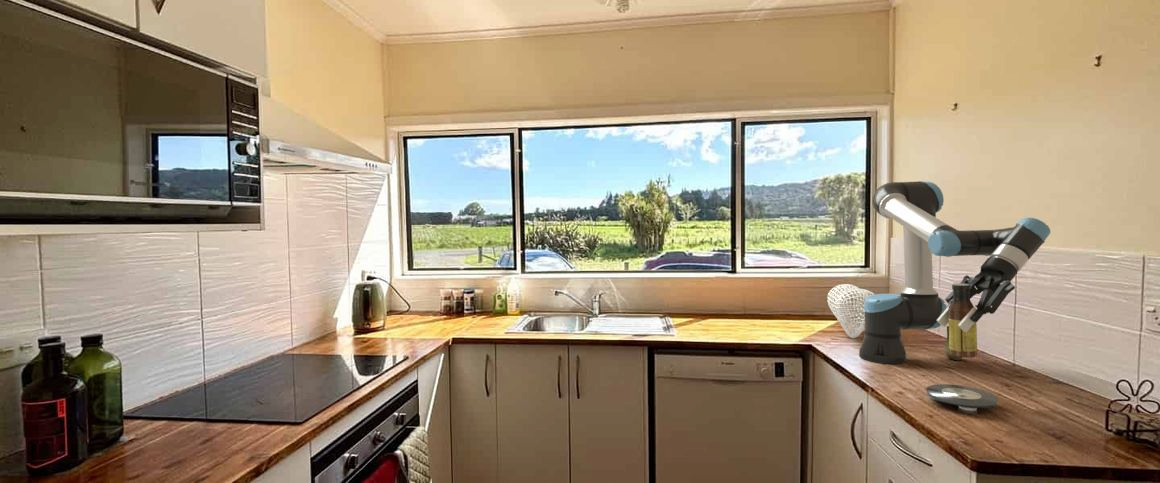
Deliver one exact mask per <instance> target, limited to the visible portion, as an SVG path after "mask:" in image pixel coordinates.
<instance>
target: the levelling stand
mask: <svg viewBox="0 0 1160 483" xmlns="http://www.w3.org/2000/svg"><path fill="white" fill-rule="evenodd" d="M926 394H927V395H928V397H929V399H930V400H932V401H936V402H942V403H944V404H949V405H953V406H957V408H958V411H959V412H961V413H963V414H966V415H977V414H978V409H986V408H987V409H988V408H993V407H996V406H998V404H999V399H998V397H997V396H996V395H994V394H992V393H990V392H989V391H985V390H982V389H978V388H976V387H971V386H965V385H958V384H947V383H946V384H943V383H942V384H933V385H928V386H927V387H926Z"/></svg>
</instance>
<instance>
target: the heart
mask: <svg viewBox="0 0 1160 483" xmlns="http://www.w3.org/2000/svg"><path fill="white" fill-rule="evenodd" d="M872 295H876V294H875V293H874V292H872V291H871V290H868V289H863V288H860V287H858V286H857V285H854V284H850V283H841V284H837V285H835V286H834V287H832V288H831V289H830V290H829V292H828V293H827V299H826V301H827V305H828V307H829V309H830V311H831V312H832V313H833V315H834V317H835V318H836V319H837V321H838V323H839V324H840V325H841V327H842V329H843V330H844V331H845V333H846V335H848V337H850V338H851V339H856V338H858V337H859V336H860V335H861V334H862V333H863V332H864V331H865V311H864V307H865V300H866V298H867V297H869V296H872ZM852 299H853V300H852ZM852 304H853V305H852Z"/></svg>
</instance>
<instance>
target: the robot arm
mask: <svg viewBox="0 0 1160 483" xmlns="http://www.w3.org/2000/svg"><path fill="white" fill-rule="evenodd" d="M871 204H872V207H873V209H874V211H875V212H876V213H877V214H879V215H880V216H882V217H884V218H885V219H890V220H893V221H895V222H897V223H898V224H899V225H901V226H902V229H903V255H904V256H903V257H904V260H903V261H904V285H905V286H904V288H903V289H902V290H900V294H898V293H876V294H875V295H872V294H871V295H872V296H870V295H869V297H867V298H866V300H865V299H864V301H865V305H864V306H865V307H863V308H864V311H865V315H864V316H865V324H864V325H865V329H864V336H863V338H862V339H863V340H862V342H861V345H860V348H859V351H858V356H859V358H861V359H863V360H865V361H869V362H873V363H879V364H903V363H906V362H907V360H908V358H907V357H908V355H907V352H906V349H905V346H904V343H903V340H902V330H930V329H937V328H940V327H943V328H946V327H947V326H948V325H949V319H948V318H949V305H950V304H951V303H952V301H953V290H952V291H951V292H950V293H949V294H948V295H947V296H946V297H945V299H943V298H941V297H939V292H938V291H937V290H936V289H935V288H934V282H933V279H934V278H933V277H934V276H933V273H934V272H933V255H934V256H938V257H946V258H948V257H949V258H950V257H961V256H963V257H964V256H965V257H967V256H984V257H985V256H986V257H987V256H989V257H988V258H987V259H986V260H985V261H984V262H983V264H982V265H981V266H980V272H979V273H977V274H975V276H969V275H964V277H962V281H960V283H959V284H969V285H970V299H972V298H973V297H974V296H976V295H980V294H981V296H980V298H979V301H978V302H977V304H975V305H974V307H975V308H972V309H971V310H970V311H969V313H968V314H967V315H966V316H965V317H964V318H963V320H962V321H961V322H960V323H959V324H958V326H959V327H960V328H961V329H962V330H963V331H964V332H967V331H968V330H969V329H970V328H971V326H972V325H973V324H974V323H975V322H976V323H977V322H979V320H980V319H981V318H982V317H983V316H984V315H986V314H991V315H993V314H995V313H996V311H997V310H998V309H999V308H1000V306H1001V305H1002V303H1003V301H1004V300H1005V299H1006V297H1007V296H1008V295H1009V294H1010V293H1011V292H1012V291H1013V290H1015V289H1016V287H1015V285H1014V284H1013V283H1012V280H1013V279H1014V278H1015V277H1016V275H1017V274H1018V272H1020V270H1022V269H1023V267H1024V266H1025V264H1026V263H1027V262H1028V261H1029V259H1031V258H1032V257H1033V255H1035V253H1036V252H1037V251H1038V250H1039V249H1040V248H1041V246H1042V245H1044V243H1045V242H1046V240H1047V238H1048V237H1049V235H1050V234H1051V229H1050V227H1049V225H1047V224H1046V223H1045V222H1044V221H1042V220H1040V219H1038V218H1034V217H1024V218H1022V219H1021V220H1019V221H1018V222H1017V223H1016V224H1015V226H1013V227H1007V228H999V229H980V230H978V229H977V230H958V229H957V228H955V227H952V226H951V225H949V224H947V223H946V222H944V221H943V220H940V219H939V218H938V217H937V214H936V213H939V212H940V211H941V210H942V208H943V205H944V194H943V191H942V189H941V188H940V187H939V186H938V185H937V184H936V183H934V182H932V181H923V180H921V181H904V182H903V181H900V182H899V181H898V182H897V181H896V182H895V181H894V182H893V181H892V182H891V181H890V182H887V183H885V184H883V185H880V186H879V187H878V188H877V189H876V190H875V191H874V192H873V194H872V197H871ZM945 302H946V303H947V304H948V305H947V304H946V303H945Z"/></svg>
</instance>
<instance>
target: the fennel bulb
mask: <svg viewBox="0 0 1160 483" xmlns="http://www.w3.org/2000/svg"><path fill="white" fill-rule="evenodd" d="M944 352H945V353H944V354H945V356H946V358H947V359H949V360H953V361H961V360H962V358H963V357H959V356H954V355H952V354H951V353H950V348H949V325H946V342H945V348H944Z"/></svg>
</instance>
